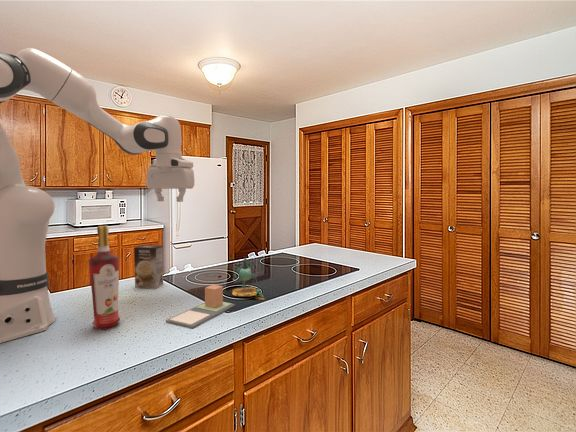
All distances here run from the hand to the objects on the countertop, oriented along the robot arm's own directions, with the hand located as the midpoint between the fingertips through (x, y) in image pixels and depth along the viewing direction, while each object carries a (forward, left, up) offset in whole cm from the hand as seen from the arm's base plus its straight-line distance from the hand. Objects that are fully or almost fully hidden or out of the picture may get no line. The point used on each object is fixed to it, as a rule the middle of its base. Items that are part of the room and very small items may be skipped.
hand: (170, 201), depth 119 cm
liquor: (-30, -6, -34) cm, 46 cm away
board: (-11, -24, -34) cm, 43 cm away
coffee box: (+3, +15, -34) cm, 38 cm away
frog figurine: (+11, -26, -34) cm, 44 cm away
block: (-5, -24, -33) cm, 41 cm away
